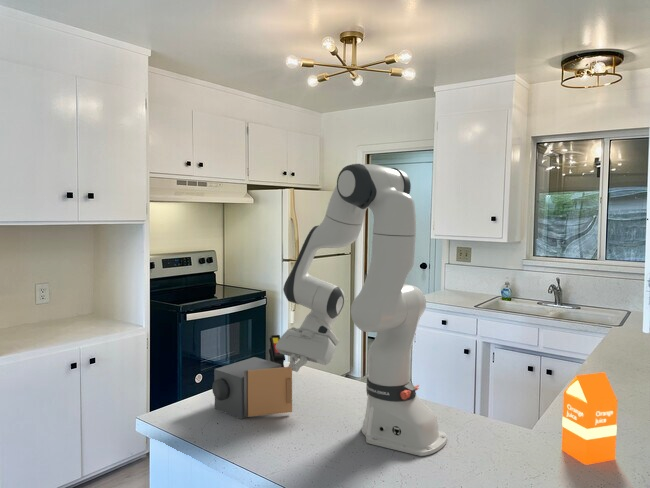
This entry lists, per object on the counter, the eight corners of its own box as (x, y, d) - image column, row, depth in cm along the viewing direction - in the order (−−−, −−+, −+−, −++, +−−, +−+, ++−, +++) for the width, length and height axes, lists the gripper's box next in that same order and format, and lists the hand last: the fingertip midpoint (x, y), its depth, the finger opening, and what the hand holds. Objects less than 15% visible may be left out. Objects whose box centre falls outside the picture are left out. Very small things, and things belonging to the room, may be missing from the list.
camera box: (282, 402, 152) (282, 364, 151) (238, 421, 139) (237, 379, 138) (254, 393, 160) (254, 356, 159) (210, 410, 146) (209, 370, 146)
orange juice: (615, 459, 118) (619, 377, 116) (585, 465, 115) (588, 380, 114) (589, 445, 125) (592, 367, 124) (560, 449, 123) (563, 370, 121)
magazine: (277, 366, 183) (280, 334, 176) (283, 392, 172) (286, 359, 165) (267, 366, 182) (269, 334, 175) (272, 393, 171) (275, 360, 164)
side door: (292, 413, 142) (292, 368, 141) (244, 418, 139) (244, 372, 138) (291, 409, 144) (290, 366, 144) (244, 415, 141) (243, 370, 140)
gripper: (284, 321, 160) (262, 357, 153) (334, 330, 147) (313, 371, 140) (294, 332, 164) (273, 368, 157) (343, 342, 151) (323, 382, 144)
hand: (292, 370), depth 148 cm, fingers closed
